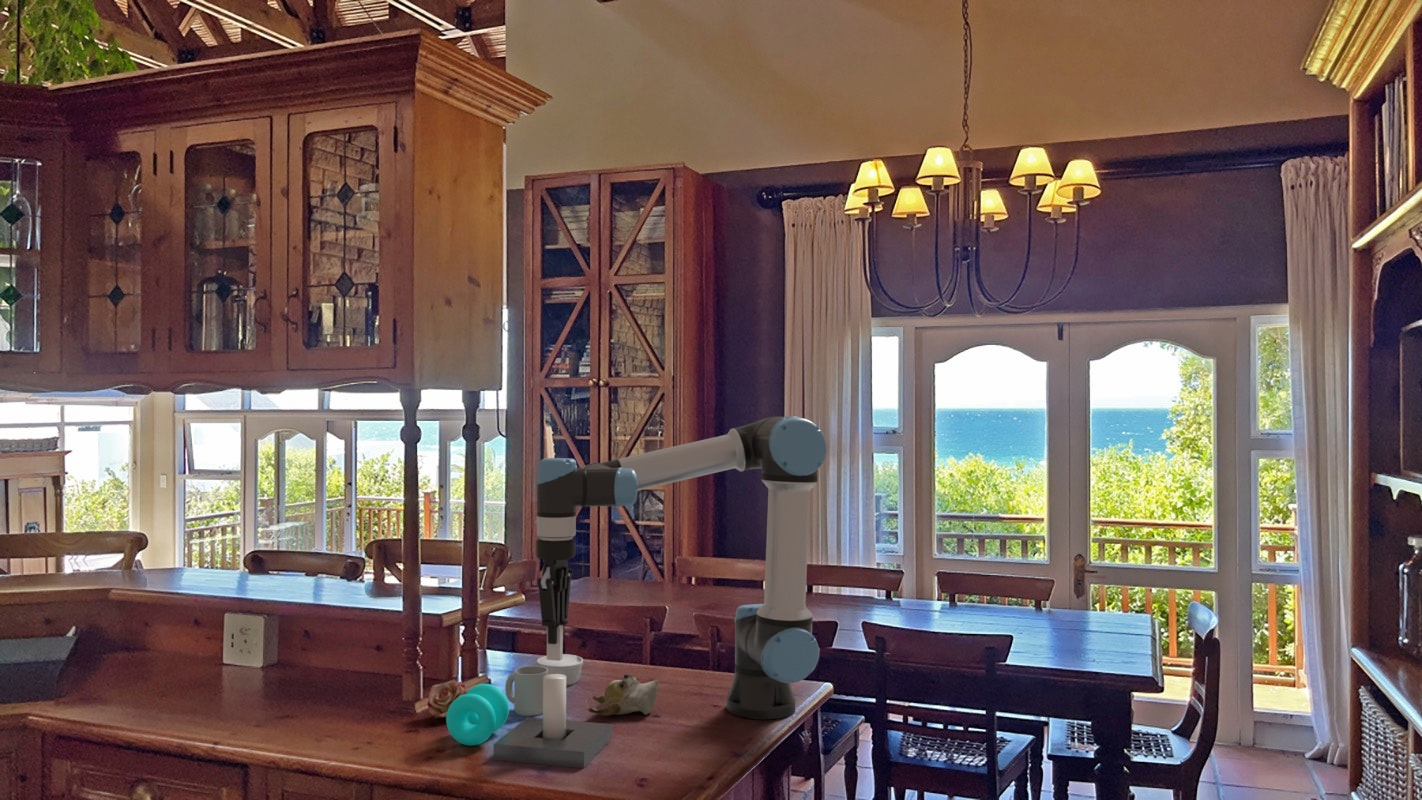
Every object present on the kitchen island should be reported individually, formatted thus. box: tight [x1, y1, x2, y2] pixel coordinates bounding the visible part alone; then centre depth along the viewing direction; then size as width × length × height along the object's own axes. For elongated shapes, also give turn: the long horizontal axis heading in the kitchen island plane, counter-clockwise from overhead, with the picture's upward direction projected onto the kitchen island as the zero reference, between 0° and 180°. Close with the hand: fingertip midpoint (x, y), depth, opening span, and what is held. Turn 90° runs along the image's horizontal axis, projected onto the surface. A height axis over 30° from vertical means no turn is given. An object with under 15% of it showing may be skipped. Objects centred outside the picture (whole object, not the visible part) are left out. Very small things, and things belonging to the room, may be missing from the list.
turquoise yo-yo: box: [445, 683, 510, 746], centre depth 193 cm, size 10×10×10 cm
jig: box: [492, 716, 613, 769], centre depth 188 cm, size 18×16×3 cm
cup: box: [504, 665, 548, 717], centre depth 211 cm, size 7×10×9 cm
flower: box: [426, 678, 467, 720], centre depth 206 cm, size 9×9×7 cm
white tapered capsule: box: [542, 674, 567, 740], centre depth 188 cm, size 4×4×14 cm
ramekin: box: [536, 653, 584, 687], centre depth 234 cm, size 11×11×5 cm
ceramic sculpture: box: [587, 674, 660, 717], centre depth 210 cm, size 11×9×15 cm
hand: (554, 659), depth 188 cm, fingers closed
